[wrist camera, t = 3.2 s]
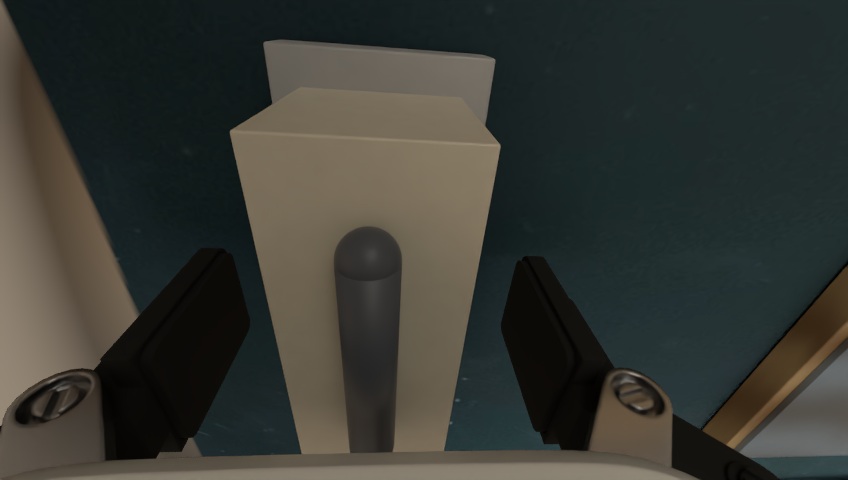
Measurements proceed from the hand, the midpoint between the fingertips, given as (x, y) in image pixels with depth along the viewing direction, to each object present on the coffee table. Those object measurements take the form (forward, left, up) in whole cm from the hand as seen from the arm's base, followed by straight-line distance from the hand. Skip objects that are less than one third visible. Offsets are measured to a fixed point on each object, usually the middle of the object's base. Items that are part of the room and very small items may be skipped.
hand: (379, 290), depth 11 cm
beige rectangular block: (0, 0, -3) cm, 3 cm away
